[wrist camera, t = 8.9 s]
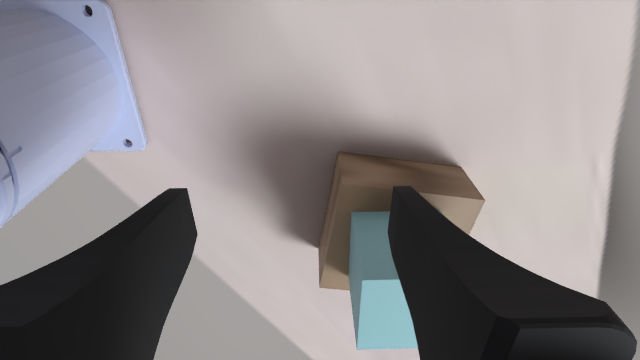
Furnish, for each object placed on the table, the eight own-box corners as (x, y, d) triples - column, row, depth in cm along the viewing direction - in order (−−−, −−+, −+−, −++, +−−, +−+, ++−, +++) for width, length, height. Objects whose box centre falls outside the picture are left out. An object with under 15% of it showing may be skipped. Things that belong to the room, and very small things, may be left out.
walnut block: (318, 245, 27) (319, 287, 23) (337, 149, 22) (342, 183, 19) (422, 256, 27) (438, 298, 24) (459, 164, 23) (485, 200, 20)
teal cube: (348, 276, 23) (356, 349, 18) (351, 211, 20) (362, 280, 16) (427, 274, 23) (454, 347, 18) (440, 210, 20) (475, 277, 16)
